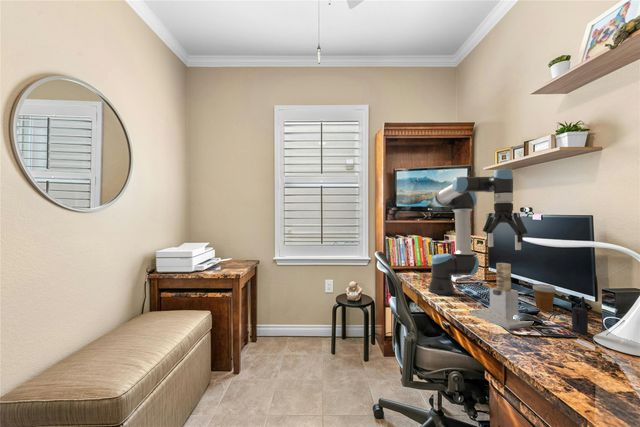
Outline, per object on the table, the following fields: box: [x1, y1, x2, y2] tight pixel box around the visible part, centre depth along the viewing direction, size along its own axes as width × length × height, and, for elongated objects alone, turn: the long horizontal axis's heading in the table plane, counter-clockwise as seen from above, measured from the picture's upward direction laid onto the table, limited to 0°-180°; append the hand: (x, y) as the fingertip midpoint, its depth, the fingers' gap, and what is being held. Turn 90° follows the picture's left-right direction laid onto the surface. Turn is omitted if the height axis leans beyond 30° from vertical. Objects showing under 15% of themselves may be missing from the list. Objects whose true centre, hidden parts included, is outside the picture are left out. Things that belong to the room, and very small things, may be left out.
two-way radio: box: [571, 296, 589, 335], centre depth 119 cm, size 6×4×15 cm
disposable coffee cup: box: [532, 283, 557, 312], centre depth 147 cm, size 10×10×12 cm
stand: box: [469, 286, 541, 330], centre depth 135 cm, size 20×20×14 cm
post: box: [495, 262, 512, 291], centre depth 135 cm, size 4×4×24 cm
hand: (503, 248), depth 135 cm, fingers open, 13 cm apart
